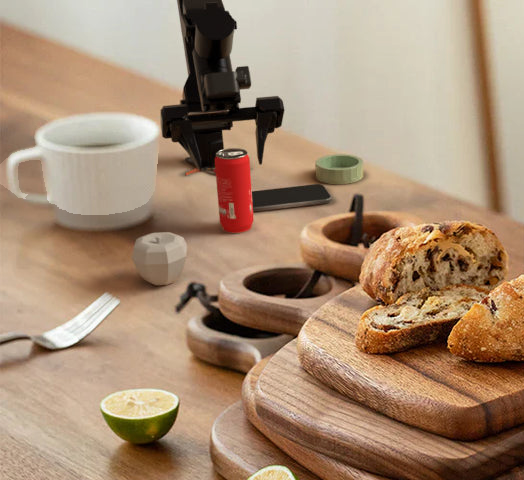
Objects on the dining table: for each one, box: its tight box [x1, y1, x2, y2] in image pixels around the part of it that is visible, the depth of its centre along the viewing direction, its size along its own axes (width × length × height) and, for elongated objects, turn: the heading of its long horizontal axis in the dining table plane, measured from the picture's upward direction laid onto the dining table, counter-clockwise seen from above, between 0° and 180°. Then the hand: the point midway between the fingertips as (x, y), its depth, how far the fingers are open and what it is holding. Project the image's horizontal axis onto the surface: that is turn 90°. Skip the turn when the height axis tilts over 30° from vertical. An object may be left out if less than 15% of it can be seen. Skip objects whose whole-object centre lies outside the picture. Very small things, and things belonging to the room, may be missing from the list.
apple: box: [131, 231, 188, 286], centre depth 148 cm, size 8×8×7 cm
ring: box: [314, 153, 364, 185], centre depth 186 cm, size 8×8×3 cm
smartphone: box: [252, 183, 333, 213], centre depth 176 cm, size 8×1×15 cm
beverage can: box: [214, 147, 255, 234], centre depth 164 cm, size 5×5×12 cm
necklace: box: [184, 167, 216, 176], centre depth 190 cm, size 8×11×2 cm
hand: (230, 166), depth 164 cm, fingers open, 9 cm apart
